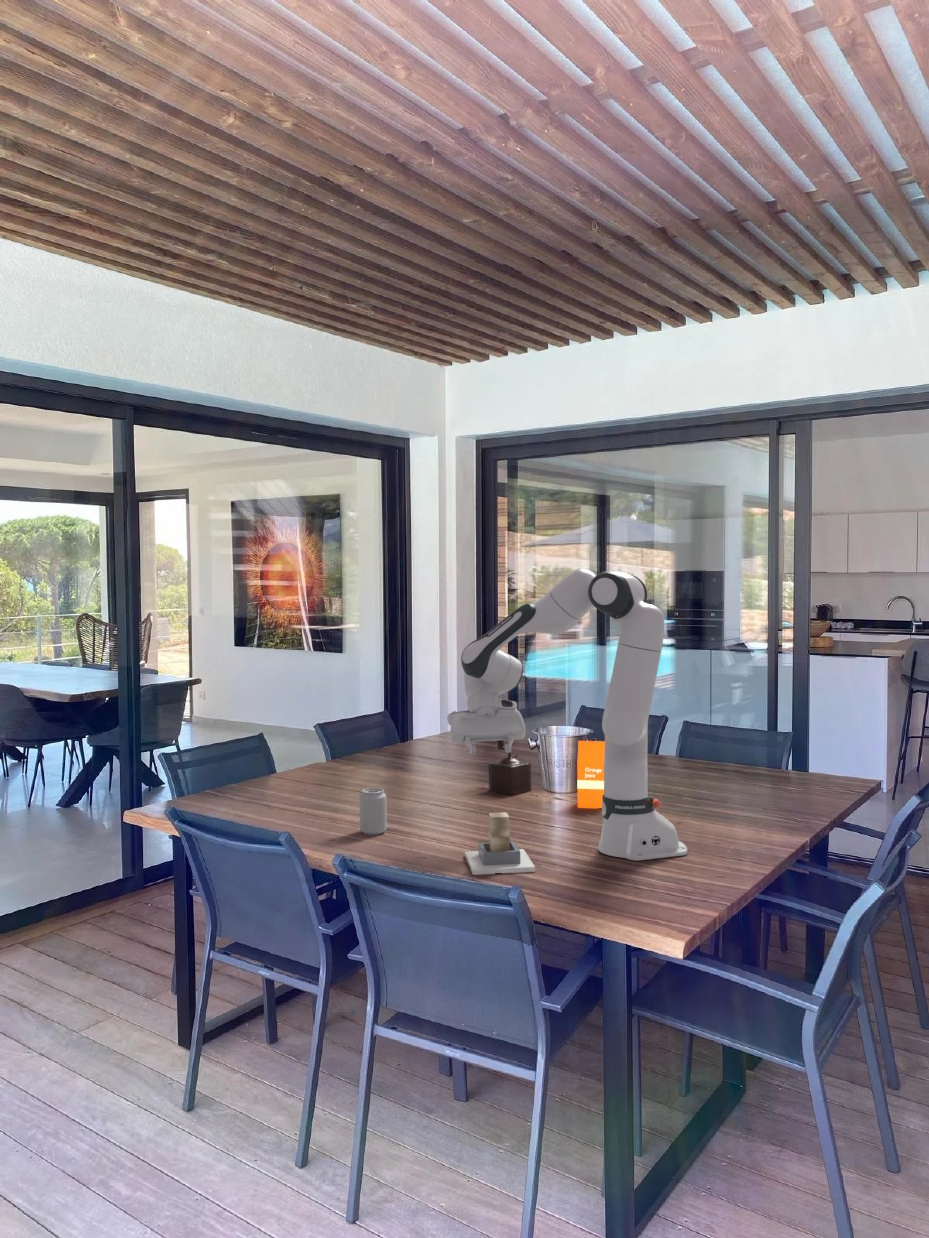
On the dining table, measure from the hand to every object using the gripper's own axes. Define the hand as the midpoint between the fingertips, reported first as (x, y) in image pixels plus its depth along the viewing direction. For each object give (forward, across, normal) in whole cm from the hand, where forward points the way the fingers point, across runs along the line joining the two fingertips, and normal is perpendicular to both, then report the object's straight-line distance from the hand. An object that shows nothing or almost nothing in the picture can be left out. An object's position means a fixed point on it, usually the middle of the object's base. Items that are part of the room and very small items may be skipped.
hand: (490, 752), depth 244 cm
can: (+5, -31, +30) cm, 43 cm away
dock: (+29, -1, +6) cm, 30 cm away
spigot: (+28, -1, +5) cm, 29 cm away
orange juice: (-8, +38, +44) cm, 58 cm away
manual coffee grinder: (-27, +15, +62) cm, 69 cm away
